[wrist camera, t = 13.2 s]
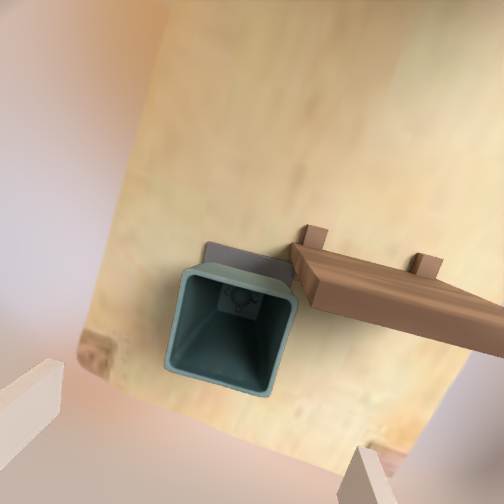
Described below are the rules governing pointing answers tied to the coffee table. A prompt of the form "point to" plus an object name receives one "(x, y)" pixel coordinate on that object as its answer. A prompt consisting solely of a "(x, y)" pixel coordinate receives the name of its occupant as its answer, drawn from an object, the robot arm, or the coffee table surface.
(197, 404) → the coffee table surface
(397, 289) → the screen
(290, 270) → the mat
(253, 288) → the flower pot
